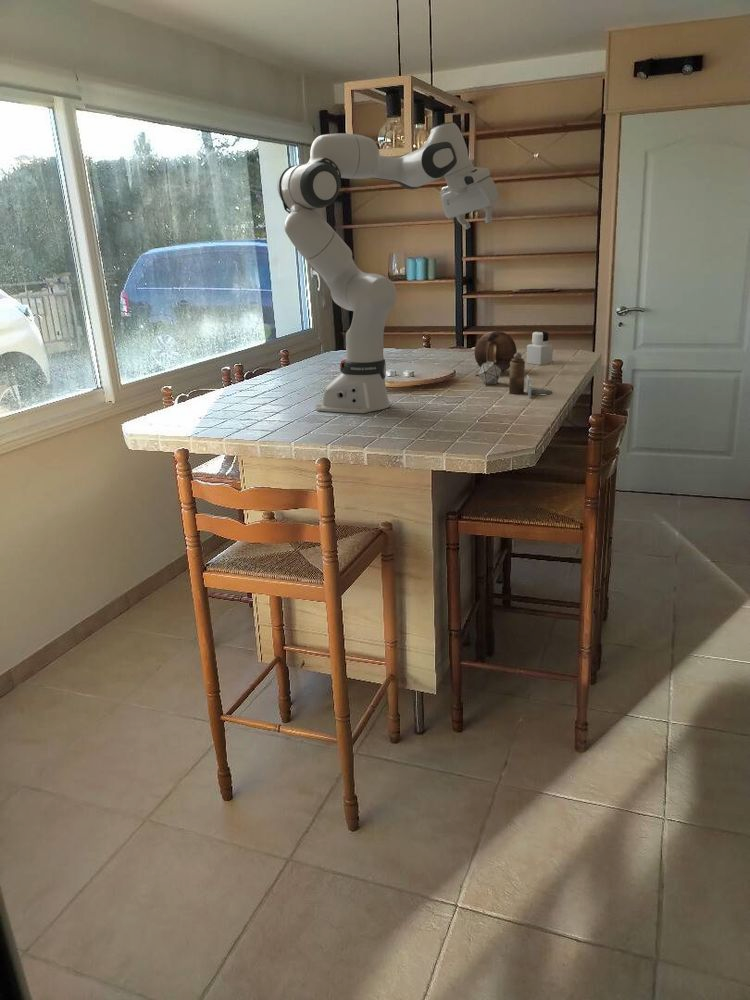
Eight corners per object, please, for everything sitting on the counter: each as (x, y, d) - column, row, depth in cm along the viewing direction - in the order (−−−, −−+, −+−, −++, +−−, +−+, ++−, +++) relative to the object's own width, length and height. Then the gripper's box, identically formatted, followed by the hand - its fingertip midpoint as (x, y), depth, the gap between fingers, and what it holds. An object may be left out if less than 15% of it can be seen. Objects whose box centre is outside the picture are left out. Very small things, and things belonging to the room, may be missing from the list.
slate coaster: (529, 395, 239) (529, 393, 239) (528, 390, 246) (528, 389, 246) (552, 395, 238) (552, 393, 238) (550, 390, 245) (550, 389, 245)
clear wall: (528, 398, 234) (529, 386, 233) (526, 387, 251) (526, 375, 249) (530, 398, 234) (531, 386, 233) (528, 387, 251) (528, 375, 249)
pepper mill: (509, 394, 241) (510, 354, 237) (508, 391, 245) (510, 351, 241) (524, 394, 240) (525, 353, 236) (523, 391, 245) (524, 351, 240)
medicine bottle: (537, 361, 297) (539, 330, 293) (552, 363, 292) (554, 331, 288) (525, 363, 293) (527, 332, 289) (540, 365, 288) (542, 333, 284)
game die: (494, 395, 257) (506, 375, 250) (471, 387, 256) (482, 366, 249) (496, 378, 263) (508, 357, 255) (473, 370, 262) (484, 349, 254)
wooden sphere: (488, 368, 286) (489, 327, 281) (523, 371, 277) (525, 330, 272) (466, 374, 276) (466, 332, 271) (501, 378, 266) (502, 335, 261)
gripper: (431, 192, 231) (448, 236, 236) (479, 174, 214) (495, 222, 219) (445, 185, 233) (461, 228, 239) (493, 167, 217) (509, 214, 222)
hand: (478, 225), depth 229 cm, fingers open, 8 cm apart
